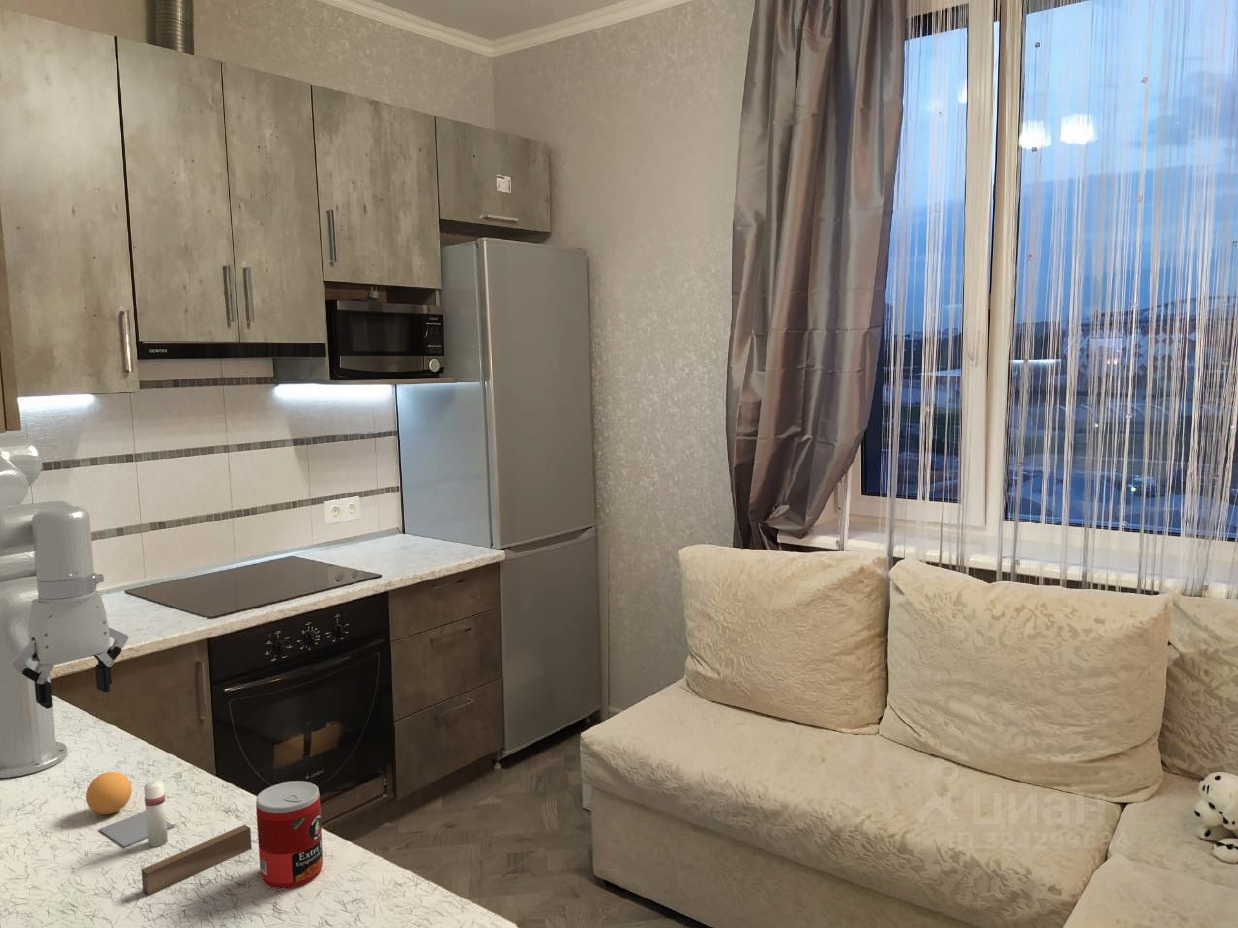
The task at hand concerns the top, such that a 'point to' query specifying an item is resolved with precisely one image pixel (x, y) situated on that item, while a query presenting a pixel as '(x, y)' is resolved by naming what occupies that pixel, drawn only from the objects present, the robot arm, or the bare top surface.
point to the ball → (108, 793)
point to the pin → (156, 813)
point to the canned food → (289, 834)
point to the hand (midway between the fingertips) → (75, 697)
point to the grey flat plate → (129, 830)
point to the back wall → (195, 859)
